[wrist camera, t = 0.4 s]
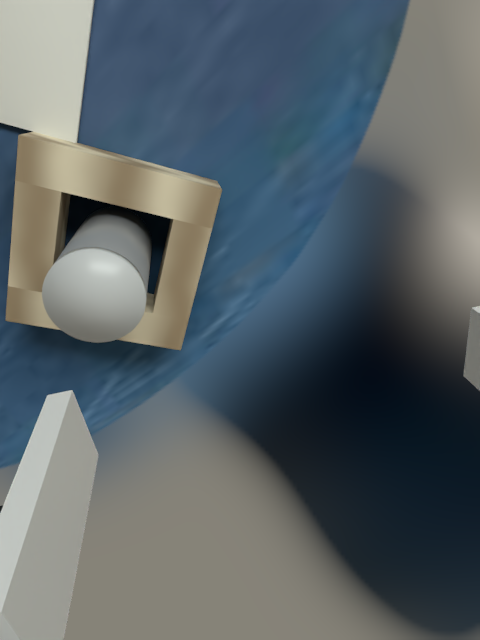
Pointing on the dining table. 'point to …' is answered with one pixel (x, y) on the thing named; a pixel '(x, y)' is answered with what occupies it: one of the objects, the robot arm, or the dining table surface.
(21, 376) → the dining table surface
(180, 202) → the housing
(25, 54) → the pad
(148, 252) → the grey domed cylinder
